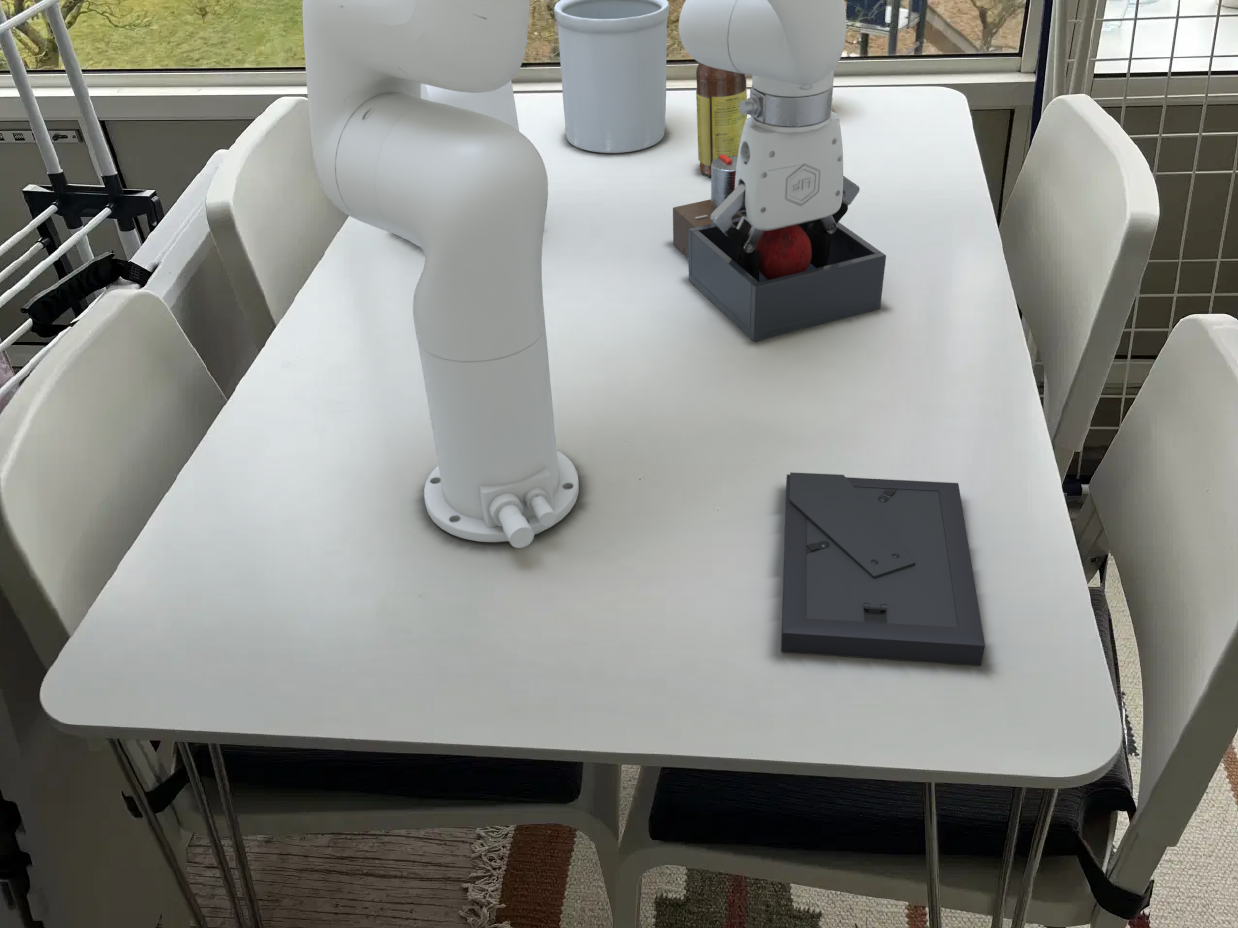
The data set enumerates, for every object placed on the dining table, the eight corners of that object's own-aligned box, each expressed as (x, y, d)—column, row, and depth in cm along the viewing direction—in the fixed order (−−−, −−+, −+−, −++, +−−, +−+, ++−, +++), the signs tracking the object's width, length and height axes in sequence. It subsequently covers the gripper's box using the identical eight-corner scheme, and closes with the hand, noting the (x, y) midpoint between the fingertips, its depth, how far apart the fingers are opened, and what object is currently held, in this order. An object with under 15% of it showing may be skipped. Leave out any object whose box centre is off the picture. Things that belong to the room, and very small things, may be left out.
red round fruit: (807, 300, 115) (812, 228, 111) (750, 297, 116) (753, 225, 112) (811, 274, 120) (816, 203, 115) (756, 271, 121) (759, 201, 116)
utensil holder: (604, 110, 166) (598, -17, 155) (690, 128, 158) (690, -4, 148) (541, 143, 156) (530, 10, 146) (630, 163, 149) (625, 25, 139)
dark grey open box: (880, 309, 115) (886, 255, 112) (753, 342, 111) (755, 287, 108) (806, 252, 126) (809, 201, 123) (688, 280, 122) (688, 228, 119)
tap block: (785, 254, 126) (787, 215, 123) (705, 273, 123) (705, 234, 120) (750, 226, 132) (751, 188, 130) (672, 244, 129) (672, 205, 127)
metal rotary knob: (753, 214, 124) (755, 163, 121) (721, 221, 123) (722, 170, 120) (736, 201, 127) (737, 151, 124) (704, 208, 126) (704, 158, 122)
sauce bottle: (755, 166, 147) (760, 6, 135) (732, 183, 142) (735, 19, 131) (710, 157, 149) (711, 0, 138) (687, 174, 145) (686, 13, 133)
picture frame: (785, 492, 92) (780, 652, 78) (786, 470, 91) (782, 628, 77) (955, 501, 90) (981, 666, 76) (959, 479, 89) (986, 642, 75)
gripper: (727, 133, 101) (724, 308, 112) (892, 100, 107) (874, 270, 117) (690, 107, 107) (690, 276, 118) (849, 77, 112) (835, 242, 123)
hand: (782, 272), depth 117 cm, fingers open, 7 cm apart
